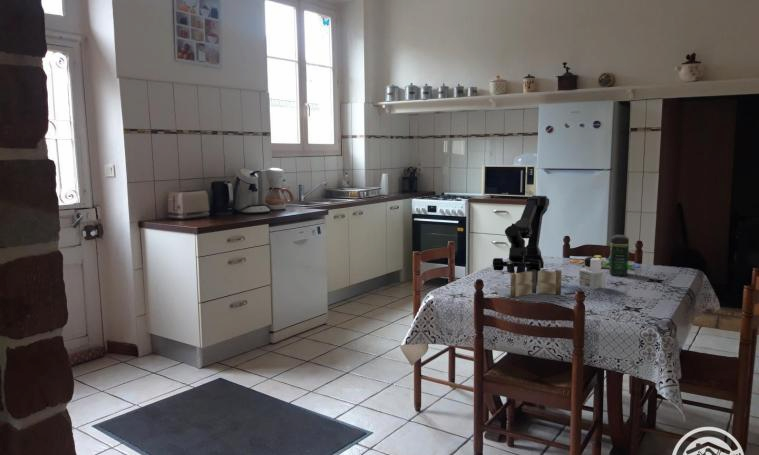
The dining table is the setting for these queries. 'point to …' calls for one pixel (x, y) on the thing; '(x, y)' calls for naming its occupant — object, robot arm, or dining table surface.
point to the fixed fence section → (549, 282)
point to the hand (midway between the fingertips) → (514, 282)
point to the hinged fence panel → (523, 283)
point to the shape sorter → (604, 263)
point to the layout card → (506, 293)
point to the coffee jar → (619, 255)
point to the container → (592, 274)
